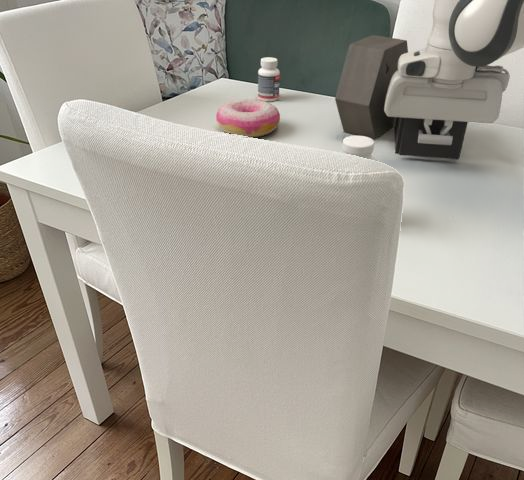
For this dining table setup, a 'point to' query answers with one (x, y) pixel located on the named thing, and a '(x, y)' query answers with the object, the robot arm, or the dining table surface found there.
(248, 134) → the donut
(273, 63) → the pill bottle
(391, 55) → the dark brown block
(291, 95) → the dining table surface
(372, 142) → the supplement bottle
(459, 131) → the air fryer basket
